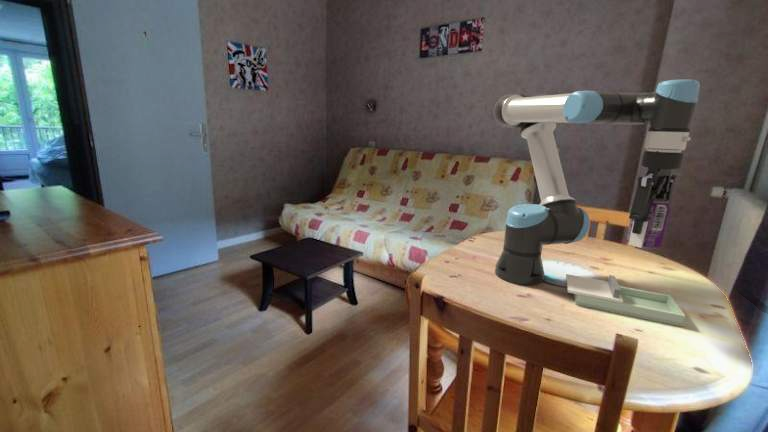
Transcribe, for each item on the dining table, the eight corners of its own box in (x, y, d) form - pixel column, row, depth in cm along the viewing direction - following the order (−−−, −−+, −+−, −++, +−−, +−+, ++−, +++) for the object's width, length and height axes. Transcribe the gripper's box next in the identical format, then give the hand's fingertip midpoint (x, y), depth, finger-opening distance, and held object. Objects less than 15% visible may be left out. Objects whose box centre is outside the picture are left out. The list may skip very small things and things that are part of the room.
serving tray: (575, 304, 96) (577, 294, 95) (572, 286, 107) (574, 277, 106) (682, 326, 87) (685, 316, 86) (668, 304, 97) (670, 295, 96)
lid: (567, 292, 97) (569, 282, 96) (566, 276, 107) (567, 266, 106) (622, 303, 91) (625, 292, 90) (615, 285, 101) (617, 275, 101)
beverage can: (662, 246, 86) (674, 199, 83) (657, 252, 81) (669, 203, 78) (629, 239, 91) (638, 195, 88) (622, 245, 86) (632, 198, 83)
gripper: (663, 153, 72) (640, 255, 78) (701, 151, 82) (678, 241, 88) (624, 150, 78) (605, 245, 84) (664, 149, 88) (644, 233, 94)
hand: (642, 243), depth 86 cm, fingers closed on beverage can, 7 cm apart
